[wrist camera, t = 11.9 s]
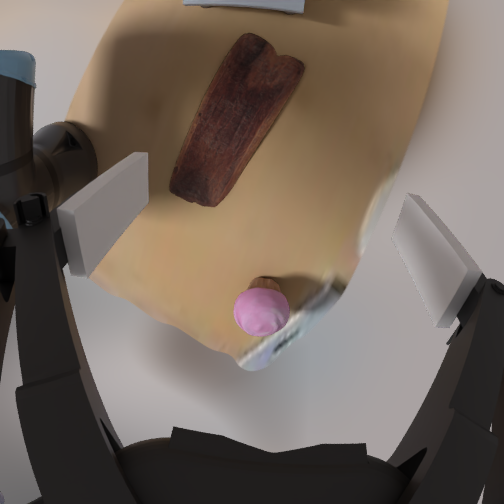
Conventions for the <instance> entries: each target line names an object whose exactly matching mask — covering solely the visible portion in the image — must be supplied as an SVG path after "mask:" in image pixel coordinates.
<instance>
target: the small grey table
mask: <svg viewBox="0 0 504 504" xmlns="http://www.w3.org/2000/svg"><path fill="white" fill-rule="evenodd" d="M304 3H305V0H183V5H185V6H201V7H203V8H208V7H210V6H236V7H251V8H262V9H271V10H279V11H284V12H285V13H286V14H295V13H300V14H303V10H304Z"/></svg>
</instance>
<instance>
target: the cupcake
mask: <svg viewBox="0 0 504 504" xmlns="http://www.w3.org/2000/svg"><path fill="white" fill-rule="evenodd" d="M289 313H290V308H289V304H288V301H287V299H286V297H285V296H284V295H283V294H282V293H281V290H280V287H279V285H278V284H277V283H276V282H275V281H273V280H272V279H264V278H255V279H253V280H252V282H251V283H250V285H249V287H248V289H247V290H246V291H245V292H242V293H241V294H240V295H239V296H238V298H237V299H236V301H235V305H234V318H235V320H236V322H237V324H238V325H239V326H240V327H241V328H242V329H243V330H244V331H246V332H247V333H248V334H250V335H253V336H267V335H271V334H273V333H275V332H277V331H279V330H280V329H282V328H283V327H284V326H285V325H286V323H287V321H288V318H289Z"/></svg>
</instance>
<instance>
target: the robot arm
mask: <svg viewBox="0 0 504 504" xmlns="http://www.w3.org/2000/svg"><path fill="white" fill-rule="evenodd" d="M35 65H36V62H35V58H34V56H33V55H31V54H30V53H28V52H25V51H15V50H0V381H1V372H2V365H3V359H4V353H5V347H6V342H7V337H8V332H9V327H10V323H11V318H12V314H13V310H14V306H15V309H16V327H17V340H18V350H19V359H20V367H21V374H22V381H23V386H20V387H17V388H16V391H15V394H16V403H17V409H18V414H19V419H20V424H21V428H22V433H23V436H24V441H25V445H26V448H27V452H28V456H29V459H30V463H31V465H32V469H33V472H34V475H35V478H36V481H37V484H38V487H39V490H40V492H41V495H42V496H41V497H39V498H38V499H36V500H34V501H32V502H30V503H28V504H477V503H478V500H479V498H480V496H481V493H482V490H483V488H484V485H485V488H484V493H483V500H482V504H504V285H503V284H502V283H501V282H499V281H497V280H495V279H491V278H490V279H487V278H486V277H485V275H484V274H483V273H482V271H481V270H480V268H479V267H478V265H477V264H476V263H475V261H474V260H473V259H472V258H471V256H470V255H469V254H468V252H467V251H466V250H465V249H464V247H463V246H462V245H461V243H460V242H459V241H458V240H457V239H456V237H455V236H454V235H453V234H452V232H451V231H450V230H449V229H448V228H447V226H446V225H445V224H444V223H443V222H442V221H441V219H440V218H439V217H438V216H437V215H436V214H435V213H434V211H433V210H432V209H431V208H430V207H429V206H428V205H427V204H426V203H425V202H424V200H423V199H422V198H421V197H420V196H417V195H413V194H409V193H407V195H406V198H405V201H404V204H403V207H402V210H401V213H400V216H399V219H398V222H397V225H396V227H395V230H394V233H393V236H392V238H391V239H392V241H393V243H394V245H395V247H396V248H397V250H398V252H399V254H400V256H401V258H402V260H403V261H404V263H405V265H406V267H407V269H408V271H409V273H410V275H411V277H412V279H413V281H414V283H415V285H416V287H417V289H418V291H419V294H420V296H421V298H422V300H423V302H424V304H425V306H426V309H427V310H428V313H429V315H430V317H431V319H432V322H433V324H434V326H435V327H438V328H450V326H451V324H452V323H453V321H454V320H455V318H456V317H457V318H458V319H459V321H460V324H459V326H458V327H457V329H456V330H455V332H454V333H453V335H452V336H451V338H450V339H449V341H448V342H447V343H446V344H447V345H449V344H450V345H449V348H448V350H447V353H446V355H445V358H444V360H443V362H442V364H441V367H440V369H439V371H438V373H437V376H436V378H435V380H434V382H433V384H432V386H431V388H430V390H429V392H428V394H427V396H426V398H425V400H424V402H423V404H422V406H421V408H420V410H419V411H418V413H417V415H416V417H415V419H414V420H413V422H412V424H411V426H410V427H409V429H408V431H407V433H406V434H405V436H404V437H403V439H402V441H401V442H400V444H399V445H398V447H397V449H396V450H395V452H394V453H393V455H392V456H391V457H390V458H389V459H388V461H387V462H385V461H383V460H381V459H379V458H375V457H373V456H369V455H367V450H366V443H361V444H360V443H359V444H320V445H315V446H311V447H306V448H301V449H296V450H290V451H284V452H278V453H271V452H267V451H264V450H261V449H258V448H255V447H252V446H249V445H246V444H243V443H241V442H237V441H235V440H232V439H230V438H227V437H225V436H222V435H216V434H210V433H203V432H198V431H193V430H187V429H183V428H178V427H173V430H172V434H171V438H156V439H149V440H144V441H140V442H137V443H134V444H131V445H129V446H126V447H123V445H122V443H121V441H120V439H119V438H118V436H117V434H116V432H115V430H114V428H113V426H112V424H111V421H110V419H109V417H108V414H107V412H106V410H105V407H104V405H103V402H102V400H101V397H100V395H99V392H98V390H97V387H96V384H95V382H94V379H93V376H92V373H91V371H90V368H89V365H88V362H87V359H86V356H85V353H84V349H83V346H82V343H81V340H80V336H79V333H78V329H77V326H76V322H75V319H74V315H73V311H72V307H71V303H70V299H69V295H68V291H67V286H66V281H65V276H64V273H63V267H64V266H65V265H66V264H67V263H68V265H69V269H70V273H71V275H72V276H77V277H81V278H86V279H88V277H89V276H90V275H91V273H92V272H93V271H94V269H95V268H96V267H97V265H98V264H99V263H100V261H101V260H102V259H103V258H104V256H105V255H106V254H107V252H108V251H109V250H110V249H111V247H112V246H113V245H114V244H115V242H116V241H117V240H118V239H119V237H120V236H121V235H122V234H123V232H124V231H125V230H126V229H127V228H128V226H129V225H130V224H131V223H132V222H133V220H134V219H135V218H136V217H137V216H138V214H139V213H140V212H141V211H142V210H143V209H144V207H145V206H146V205H147V204H148V203H149V193H148V153H146V152H133V153H132V154H130V155H129V156H127V157H126V158H124V159H123V160H121V161H120V162H118V163H117V164H116V165H114V166H113V167H111V168H110V169H108V170H107V171H106V172H104V173H103V174H101V175H100V176H99V177H97V159H96V155H95V151H94V149H93V146H92V144H91V142H90V140H89V139H88V137H87V136H86V135H85V134H84V132H83V131H82V130H80V129H79V128H78V127H76V126H75V125H73V124H70V123H67V122H55V123H52V124H50V125H47V126H45V127H43V128H41V129H40V130H38V131H37V132H36V133H35V134H34V135H33V112H34V111H33V110H34V92H35V88H36V84H35V67H36V66H35ZM491 423H492V432H490V427H491ZM0 504H4V497H3V495H2V493H1V491H0Z"/></svg>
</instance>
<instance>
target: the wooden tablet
mask: <svg viewBox="0 0 504 504" xmlns="http://www.w3.org/2000/svg"><path fill="white" fill-rule="evenodd" d="M303 72H304V64H303V62H301V61H300V60H297V59H295V58H293V57H290V56H287V55H283V56H278V55H277V54H276V51H275V49H274V48H273V47H272V46H271V45H270V44H269V43H268V42H267V41H265V40H264V39H262V38H260V37H259V36H256V35H254V34H251V33H248V34H244V35H242V36H241V37H240V38H239V39H238V41H237V42H236V43H235V45H234V46H233V48H232V49H231V50H230V52H229V53H228V55H227V56H226V58H225V60H224V61H223V63H222V65H221V66H220V68H219V70H218V72H217V73H216V75H215V77H214V79H213V80H212V83H211V85H210V86H209V88H208V90H207V92H206V94H205V96H204V98H203V100H202V102H201V105H200V107H199V109H198V111H197V114H196V116H195V118H194V121H193V123H192V125H191V127H190V130H189V132H188V135H187V137H186V139H185V142H184V145H183V147H182V149H181V152H180V155H179V157H178V160H177V162H176V167H175V168H174V171H173V174H172V177H171V181H170V192H171V193H173V194H175V195H176V196H178V197H181V198H183V199H184V200H186V201H188V202H191V203H193V202H196V203H197V204H199V205H202V206H208V207H215V206H217V205H218V204H219V203H220V202H221V201H222V200H223V199H224V198H225V197H226V196H227V195H228V193H229V192H230V190H231V189H232V188H233V186H234V184H235V183H236V181H237V179H238V178H239V176H240V174H241V173H242V171H243V169H244V168H245V166H246V164H247V163H248V161H249V159H250V157H251V156H252V154H253V153H254V151H255V150H256V148H257V147H258V145H259V144H260V142H261V140H262V139H263V137H264V136H265V134H266V133H267V131H268V129H269V128H270V126H271V125H272V123H273V122H274V120H275V118H276V117H277V115H278V114H279V112H280V111H281V109H282V107H283V105H284V104H285V103H286V101H287V99H288V98H289V96H290V95H291V93H292V92H293V90H294V89H295V87H296V85H297V84H298V82H299V80H300V78H301V76H302V74H303Z"/></svg>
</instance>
